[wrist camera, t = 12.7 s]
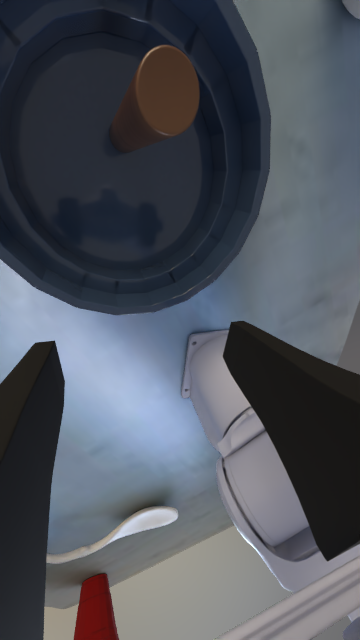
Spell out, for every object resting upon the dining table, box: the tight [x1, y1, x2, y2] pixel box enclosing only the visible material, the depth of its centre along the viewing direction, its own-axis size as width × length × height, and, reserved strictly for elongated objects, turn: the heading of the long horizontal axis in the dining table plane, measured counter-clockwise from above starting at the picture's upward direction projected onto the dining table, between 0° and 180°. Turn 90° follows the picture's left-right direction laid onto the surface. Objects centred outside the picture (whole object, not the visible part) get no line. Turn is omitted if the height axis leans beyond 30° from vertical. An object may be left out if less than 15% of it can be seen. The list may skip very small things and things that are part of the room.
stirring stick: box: [109, 45, 200, 153], centre depth 9 cm, size 2×2×10 cm
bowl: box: [0, 0, 271, 315], centre depth 13 cm, size 15×15×4 cm
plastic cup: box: [74, 574, 119, 640], centre depth 52 cm, size 11×11×12 cm
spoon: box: [46, 506, 178, 563], centre depth 39 cm, size 9×32×4 cm, turn 81°
